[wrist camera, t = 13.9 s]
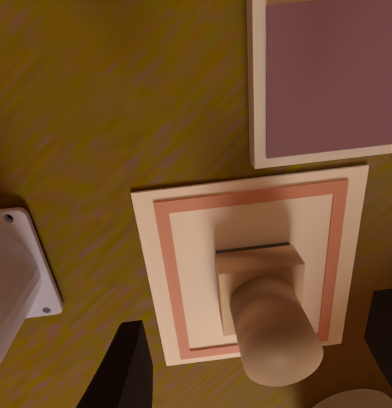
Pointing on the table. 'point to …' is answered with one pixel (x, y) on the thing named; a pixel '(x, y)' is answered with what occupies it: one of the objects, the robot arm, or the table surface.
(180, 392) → the table surface
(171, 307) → the marked sheet
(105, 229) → the table surface
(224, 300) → the stamp
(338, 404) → the reusable coffee cup
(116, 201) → the table surface
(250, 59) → the ink pad
